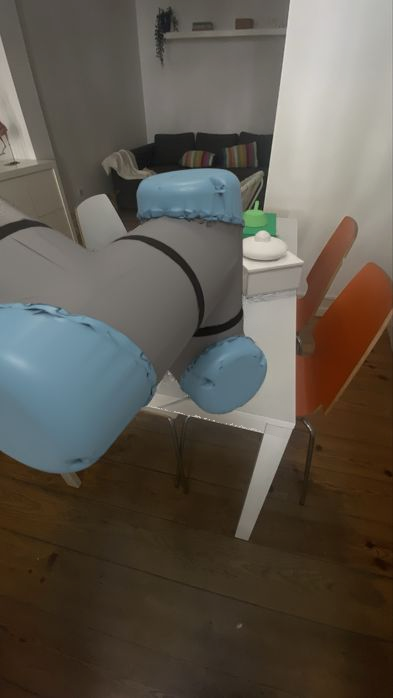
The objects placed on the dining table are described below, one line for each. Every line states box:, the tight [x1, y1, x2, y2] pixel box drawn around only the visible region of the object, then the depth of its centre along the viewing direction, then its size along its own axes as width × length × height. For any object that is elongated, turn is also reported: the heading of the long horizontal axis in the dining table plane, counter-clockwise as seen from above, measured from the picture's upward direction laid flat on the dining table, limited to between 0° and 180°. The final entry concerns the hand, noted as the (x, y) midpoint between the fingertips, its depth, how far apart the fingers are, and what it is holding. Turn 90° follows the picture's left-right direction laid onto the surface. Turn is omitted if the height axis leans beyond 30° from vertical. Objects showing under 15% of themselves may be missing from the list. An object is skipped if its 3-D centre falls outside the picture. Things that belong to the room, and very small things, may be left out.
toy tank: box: [243, 200, 277, 239], centre depth 127 cm, size 18×12×35 cm
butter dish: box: [243, 231, 305, 298], centre depth 96 cm, size 18×18×16 cm
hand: (109, 259), depth 55 cm, fingers closed
